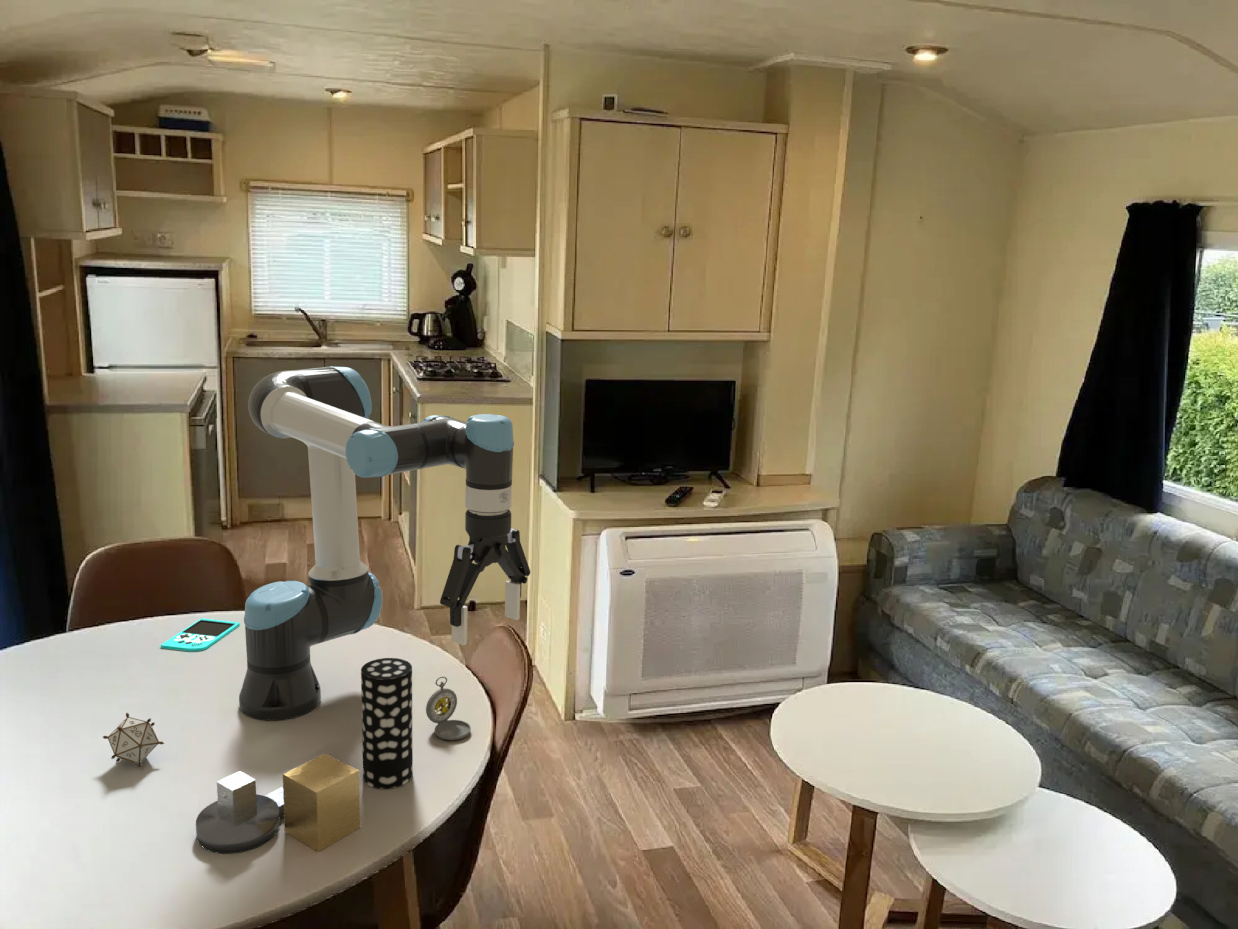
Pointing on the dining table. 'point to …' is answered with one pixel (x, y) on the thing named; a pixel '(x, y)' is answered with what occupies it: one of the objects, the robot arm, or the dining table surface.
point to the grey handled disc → (239, 816)
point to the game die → (133, 740)
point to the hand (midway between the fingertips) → (486, 630)
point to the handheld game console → (200, 635)
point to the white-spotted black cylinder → (387, 722)
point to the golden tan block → (321, 802)
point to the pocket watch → (446, 714)
